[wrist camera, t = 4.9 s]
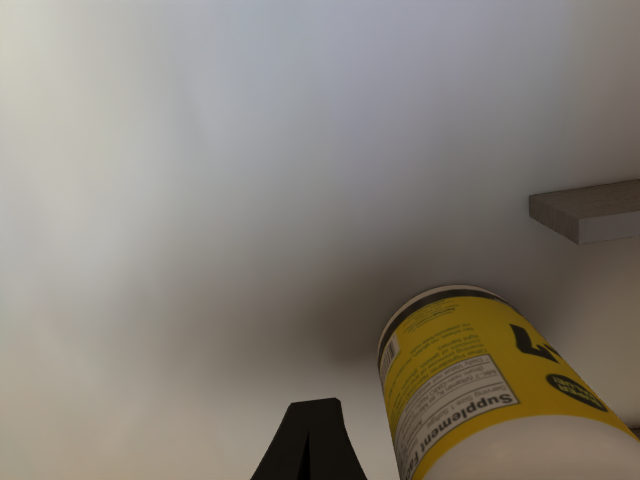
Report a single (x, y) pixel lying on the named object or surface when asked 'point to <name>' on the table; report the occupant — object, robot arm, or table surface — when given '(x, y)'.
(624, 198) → the lockout bracket
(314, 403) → the robot arm
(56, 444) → the table surface
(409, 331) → the supplement bottle
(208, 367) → the table surface
